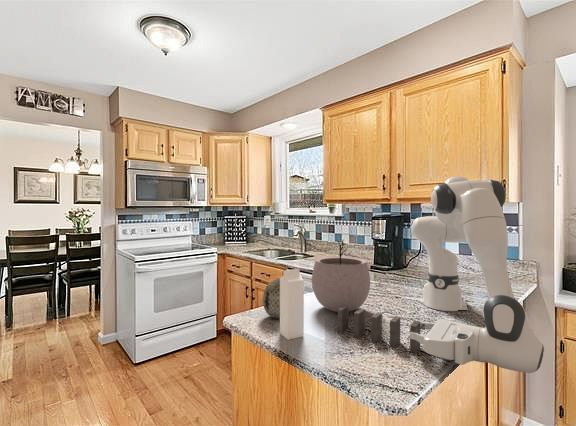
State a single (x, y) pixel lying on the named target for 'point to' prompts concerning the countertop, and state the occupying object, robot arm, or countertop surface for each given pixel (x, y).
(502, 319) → the robot arm
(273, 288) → the decorative egg
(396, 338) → the domino
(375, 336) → the domino
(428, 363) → the countertop surface
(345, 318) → the domino
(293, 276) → the milk
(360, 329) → the domino
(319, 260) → the plant pot
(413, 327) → the domino
